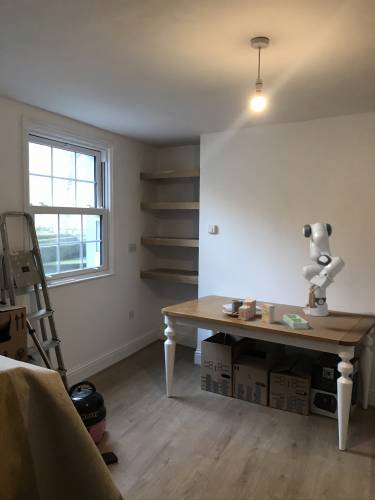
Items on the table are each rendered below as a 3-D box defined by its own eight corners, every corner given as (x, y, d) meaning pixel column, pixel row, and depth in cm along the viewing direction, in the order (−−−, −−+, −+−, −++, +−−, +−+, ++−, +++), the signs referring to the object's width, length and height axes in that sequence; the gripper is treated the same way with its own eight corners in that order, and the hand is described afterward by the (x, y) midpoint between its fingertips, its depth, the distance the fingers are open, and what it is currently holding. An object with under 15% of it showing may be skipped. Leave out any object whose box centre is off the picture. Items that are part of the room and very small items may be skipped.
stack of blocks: (246, 321, 280) (246, 304, 279) (238, 320, 283) (238, 303, 282) (255, 314, 298) (256, 299, 297) (248, 313, 301) (248, 298, 300)
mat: (276, 320, 281) (276, 320, 281) (303, 320, 282) (303, 319, 282) (286, 329, 259) (286, 328, 259) (315, 328, 261) (315, 328, 261)
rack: (282, 319, 282) (282, 314, 282) (296, 319, 283) (296, 314, 283) (293, 328, 259) (293, 323, 258) (308, 328, 259) (308, 322, 259)
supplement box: (261, 321, 278) (261, 303, 277) (266, 320, 281) (266, 303, 280) (269, 324, 271) (269, 306, 270) (274, 323, 274) (274, 305, 273)
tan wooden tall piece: (306, 305, 268) (306, 286, 266) (313, 305, 268) (313, 286, 267) (310, 308, 261) (310, 287, 260) (317, 308, 261) (318, 287, 260)
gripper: (316, 271, 273) (302, 284, 273) (329, 275, 253) (314, 289, 253) (321, 277, 274) (308, 290, 274) (335, 281, 254) (320, 296, 254)
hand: (311, 290), depth 263 cm, fingers closed on tan wooden tall piece, 3 cm apart
